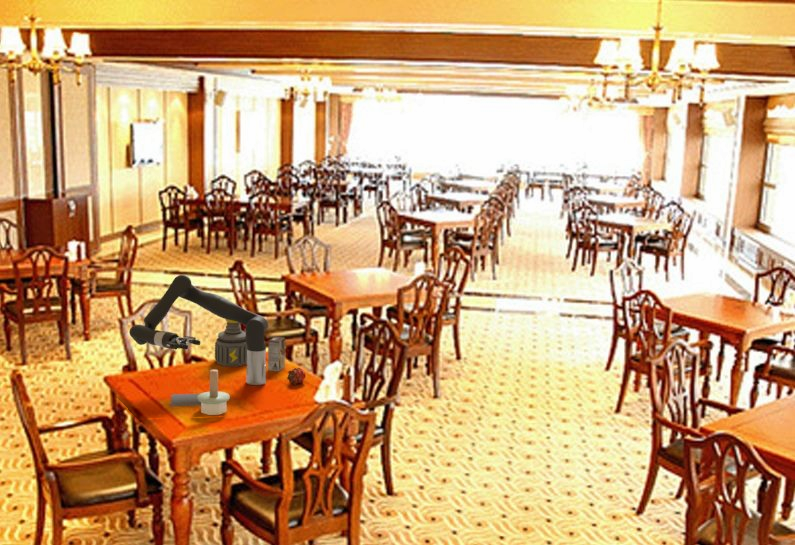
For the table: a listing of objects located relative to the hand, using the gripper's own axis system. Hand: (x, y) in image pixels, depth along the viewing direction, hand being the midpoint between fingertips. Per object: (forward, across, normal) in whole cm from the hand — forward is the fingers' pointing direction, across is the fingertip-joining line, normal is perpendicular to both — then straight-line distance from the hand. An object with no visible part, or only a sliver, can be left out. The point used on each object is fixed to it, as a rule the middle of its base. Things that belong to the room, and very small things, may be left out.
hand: (193, 344), depth 396 cm
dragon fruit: (+27, +46, +26) cm, 59 cm away
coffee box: (+6, +59, +26) cm, 65 cm away
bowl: (+18, -9, +26) cm, 33 cm away
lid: (+18, -9, +20) cm, 28 cm away
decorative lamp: (-20, +55, +26) cm, 64 cm away
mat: (0, -4, +26) cm, 26 cm away
